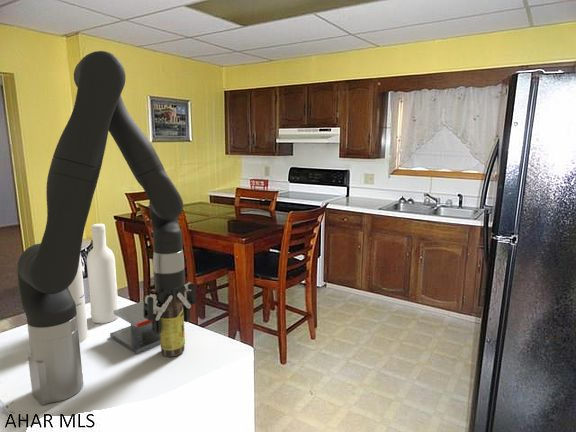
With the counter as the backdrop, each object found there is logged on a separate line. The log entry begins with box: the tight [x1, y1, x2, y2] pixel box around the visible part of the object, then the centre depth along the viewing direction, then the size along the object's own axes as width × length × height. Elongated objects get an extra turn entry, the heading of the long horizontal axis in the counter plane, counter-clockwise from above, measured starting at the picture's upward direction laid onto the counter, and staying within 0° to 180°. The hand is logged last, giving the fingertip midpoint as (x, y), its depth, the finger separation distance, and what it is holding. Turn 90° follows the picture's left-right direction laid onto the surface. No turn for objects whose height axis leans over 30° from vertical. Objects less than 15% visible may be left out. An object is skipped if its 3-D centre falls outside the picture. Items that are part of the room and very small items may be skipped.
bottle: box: [86, 223, 120, 324], centre depth 122 cm, size 8×8×30 cm
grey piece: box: [109, 299, 160, 355], centre depth 113 cm, size 14×14×8 cm
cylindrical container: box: [68, 253, 89, 343], centre depth 109 cm, size 7×7×25 cm
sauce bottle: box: [159, 288, 186, 358], centre depth 104 cm, size 6×6×20 cm
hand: (171, 326), depth 104 cm, fingers open, 8 cm apart
